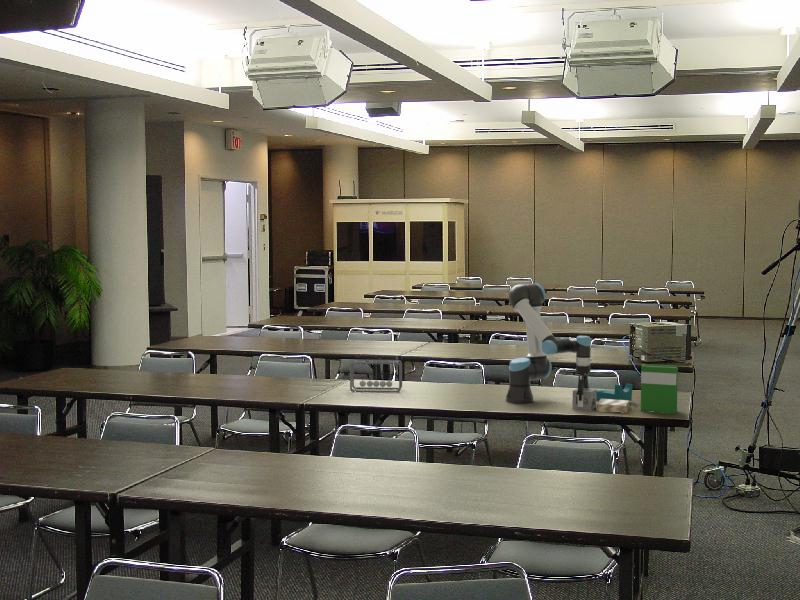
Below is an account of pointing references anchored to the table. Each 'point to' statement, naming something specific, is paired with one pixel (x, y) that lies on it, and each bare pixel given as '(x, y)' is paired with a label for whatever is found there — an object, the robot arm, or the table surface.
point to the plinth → (613, 405)
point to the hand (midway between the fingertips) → (582, 404)
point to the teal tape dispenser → (616, 393)
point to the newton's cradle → (376, 383)
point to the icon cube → (585, 399)
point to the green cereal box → (659, 388)
